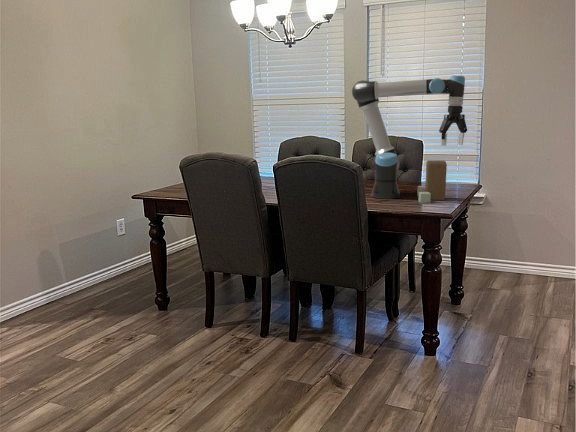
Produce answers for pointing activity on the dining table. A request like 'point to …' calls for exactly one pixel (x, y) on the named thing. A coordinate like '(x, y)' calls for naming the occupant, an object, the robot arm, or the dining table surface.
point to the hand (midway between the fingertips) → (452, 145)
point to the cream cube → (420, 189)
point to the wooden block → (436, 179)
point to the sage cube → (424, 197)
